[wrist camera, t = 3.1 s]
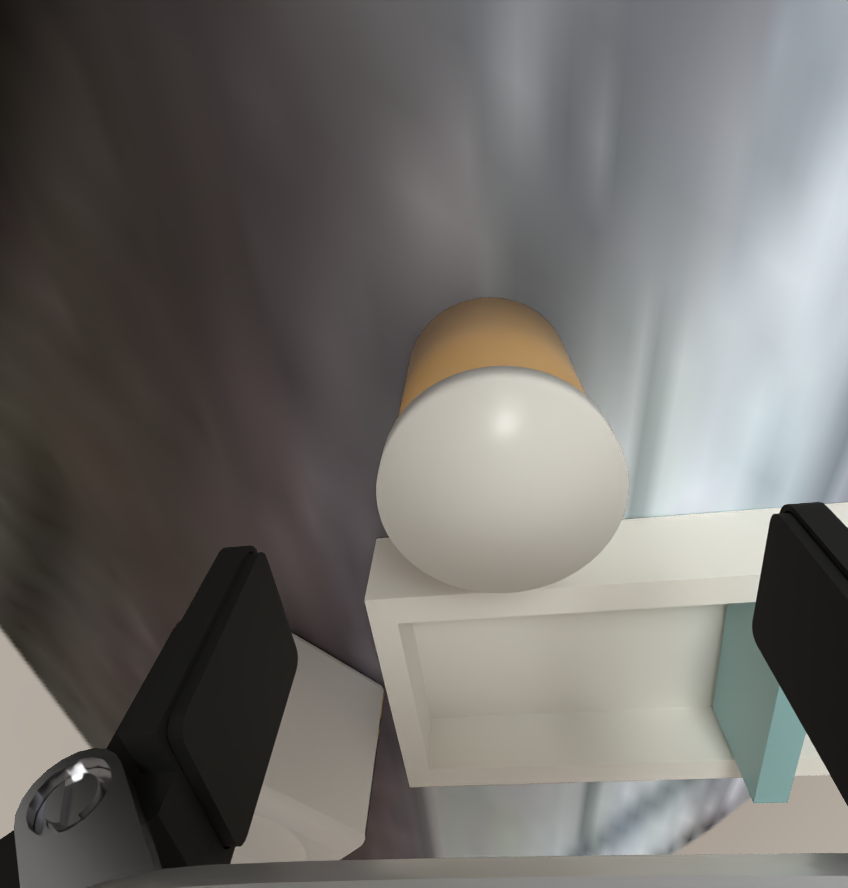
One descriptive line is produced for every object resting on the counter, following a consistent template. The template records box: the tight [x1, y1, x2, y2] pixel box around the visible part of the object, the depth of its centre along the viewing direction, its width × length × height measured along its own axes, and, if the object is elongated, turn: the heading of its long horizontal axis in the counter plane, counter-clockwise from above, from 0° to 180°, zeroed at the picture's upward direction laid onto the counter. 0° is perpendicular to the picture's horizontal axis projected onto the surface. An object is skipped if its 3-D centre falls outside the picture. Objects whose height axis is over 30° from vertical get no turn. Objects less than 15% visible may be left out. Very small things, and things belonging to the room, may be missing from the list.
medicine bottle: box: [230, 632, 384, 864], centre depth 23 cm, size 7×7×12 cm
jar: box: [376, 297, 629, 593], centre depth 17 cm, size 6×6×8 cm
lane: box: [364, 502, 848, 787], centre depth 23 cm, size 11×19×6 cm, turn 98°
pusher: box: [713, 602, 806, 803], centre depth 22 cm, size 8×4×4 cm, turn 8°
